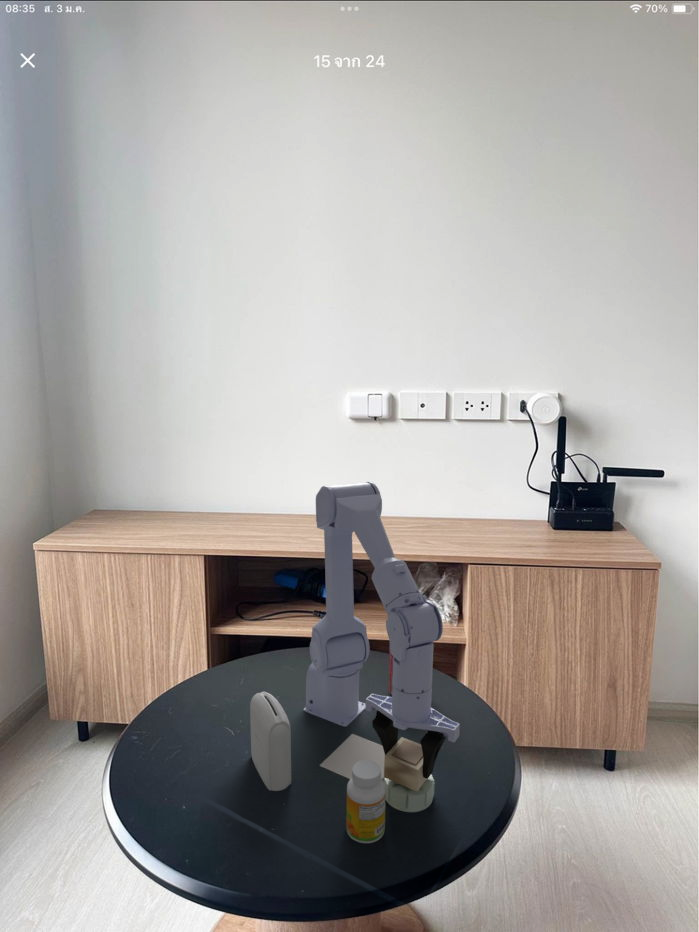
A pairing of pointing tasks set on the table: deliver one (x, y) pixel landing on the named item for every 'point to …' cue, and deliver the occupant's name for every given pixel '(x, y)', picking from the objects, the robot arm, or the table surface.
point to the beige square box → (405, 764)
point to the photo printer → (270, 741)
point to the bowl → (409, 795)
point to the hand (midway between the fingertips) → (409, 766)
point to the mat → (354, 755)
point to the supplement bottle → (366, 803)
